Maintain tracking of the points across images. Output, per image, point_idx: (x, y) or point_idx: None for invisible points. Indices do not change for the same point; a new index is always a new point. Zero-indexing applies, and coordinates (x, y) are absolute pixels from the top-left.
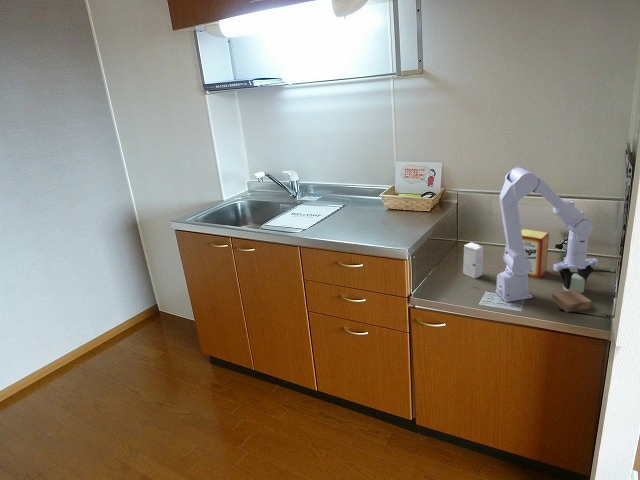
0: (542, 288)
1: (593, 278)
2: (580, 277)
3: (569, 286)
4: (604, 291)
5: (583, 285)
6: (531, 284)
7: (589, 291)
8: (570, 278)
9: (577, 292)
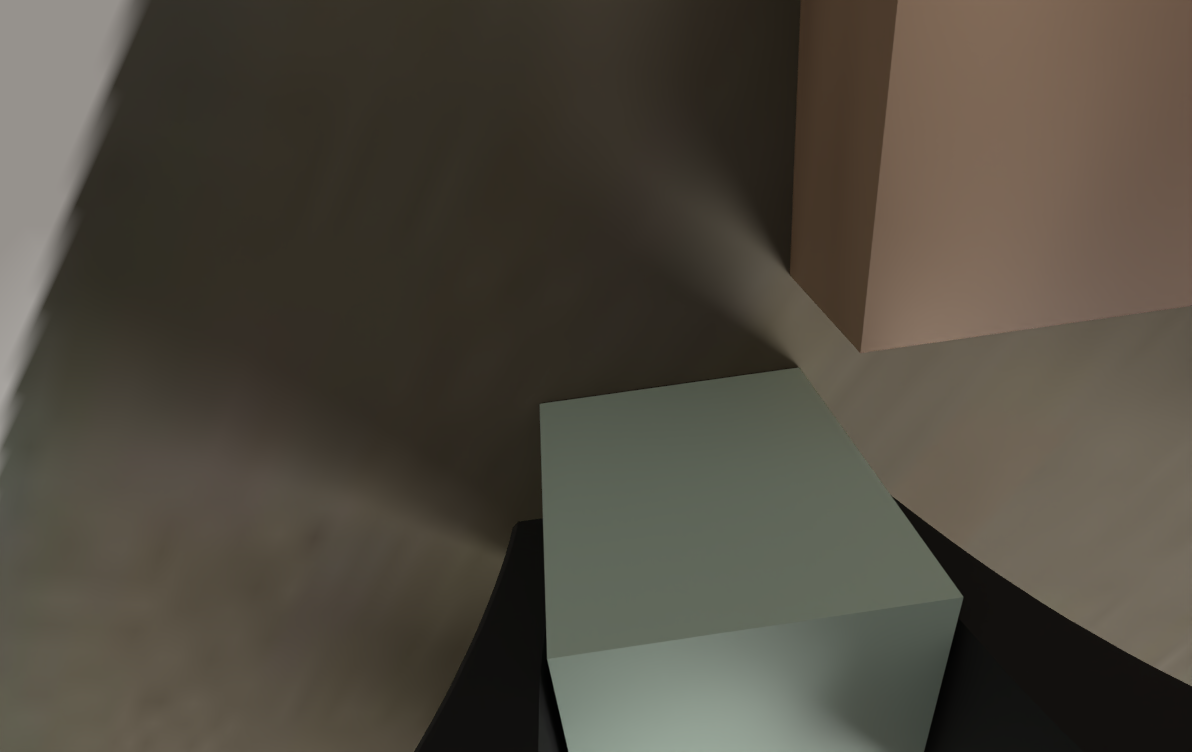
0: (1056, 579)
1: (201, 744)
2: (616, 733)
3: None
4: (121, 383)
5: (564, 506)
6: None
7: (417, 419)
8: (1049, 689)
9: (914, 208)
